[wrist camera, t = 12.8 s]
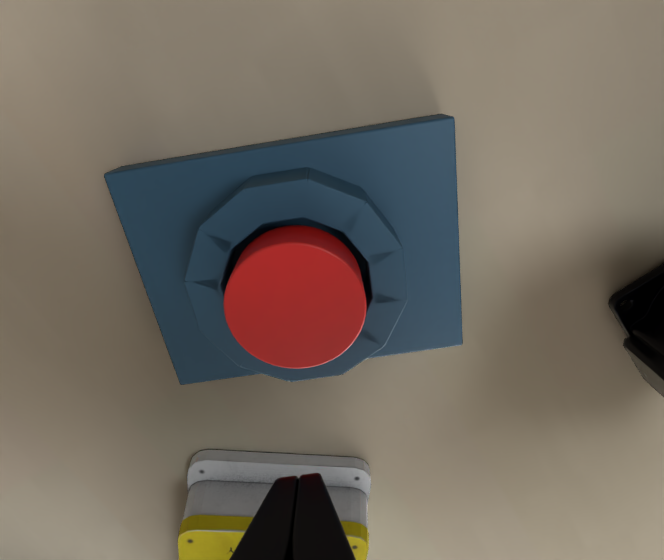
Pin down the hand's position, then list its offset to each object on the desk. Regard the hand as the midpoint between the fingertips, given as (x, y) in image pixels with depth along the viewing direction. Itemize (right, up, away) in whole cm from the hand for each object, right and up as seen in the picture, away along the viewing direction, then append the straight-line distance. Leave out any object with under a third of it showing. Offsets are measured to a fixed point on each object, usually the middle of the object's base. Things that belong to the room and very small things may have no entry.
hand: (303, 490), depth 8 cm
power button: (-1, +4, +7) cm, 8 cm away
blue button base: (-1, +5, +10) cm, 11 cm away
